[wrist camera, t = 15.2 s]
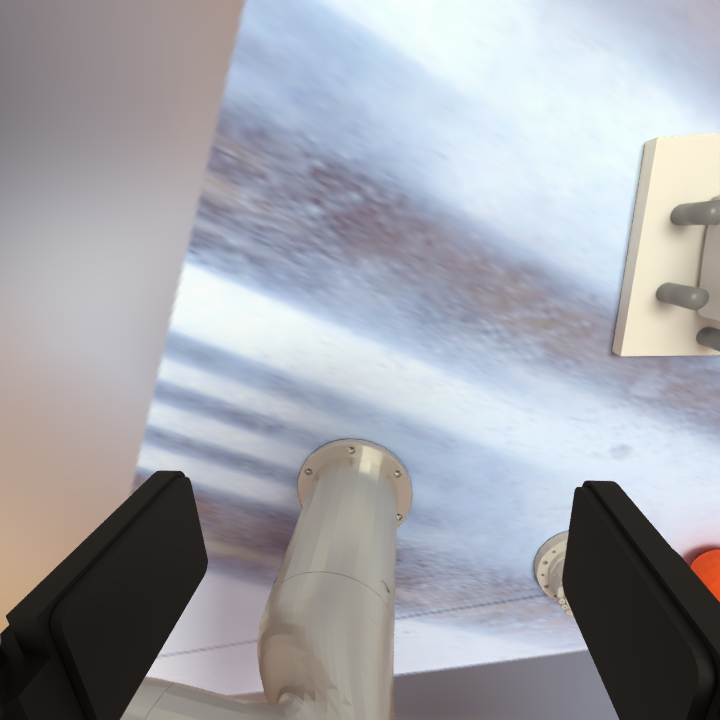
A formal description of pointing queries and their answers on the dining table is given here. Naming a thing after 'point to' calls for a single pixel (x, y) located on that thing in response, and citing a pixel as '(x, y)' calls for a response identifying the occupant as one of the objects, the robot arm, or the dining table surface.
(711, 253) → the photo printer
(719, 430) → the dining table surface
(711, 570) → the clementine
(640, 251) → the pin tray
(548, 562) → the mechanical component
